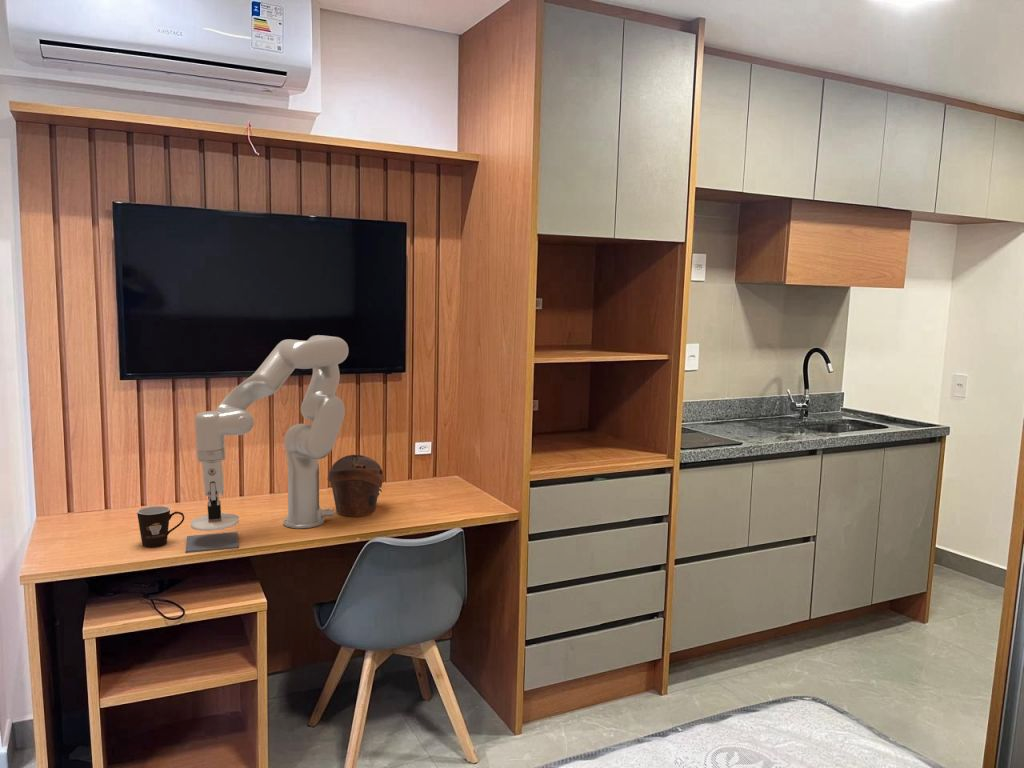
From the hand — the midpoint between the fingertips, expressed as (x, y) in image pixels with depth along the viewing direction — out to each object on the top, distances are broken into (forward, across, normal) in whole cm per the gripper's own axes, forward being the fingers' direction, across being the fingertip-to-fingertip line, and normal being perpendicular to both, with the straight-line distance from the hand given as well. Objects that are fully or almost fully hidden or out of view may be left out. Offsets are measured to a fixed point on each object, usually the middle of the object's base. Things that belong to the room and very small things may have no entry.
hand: (214, 516), depth 223 cm
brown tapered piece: (+10, +20, -44) cm, 49 cm away
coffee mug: (+8, +3, +15) cm, 17 cm away
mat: (+8, 0, +1) cm, 8 cm away
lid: (+2, 0, 0) cm, 2 cm away
